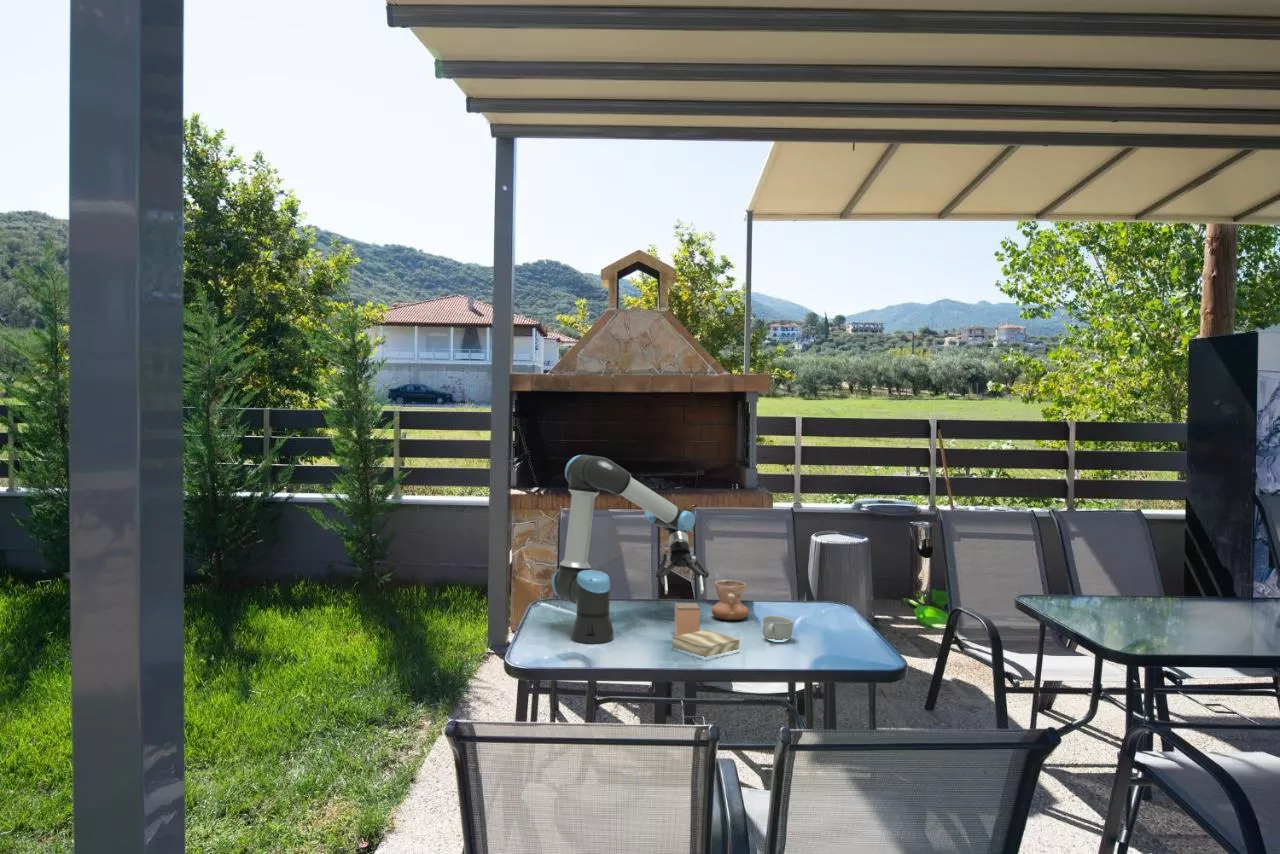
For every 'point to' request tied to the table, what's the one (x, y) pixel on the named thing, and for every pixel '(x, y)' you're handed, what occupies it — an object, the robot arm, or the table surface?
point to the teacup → (777, 627)
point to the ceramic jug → (730, 600)
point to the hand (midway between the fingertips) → (684, 592)
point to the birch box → (705, 643)
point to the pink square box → (686, 618)
